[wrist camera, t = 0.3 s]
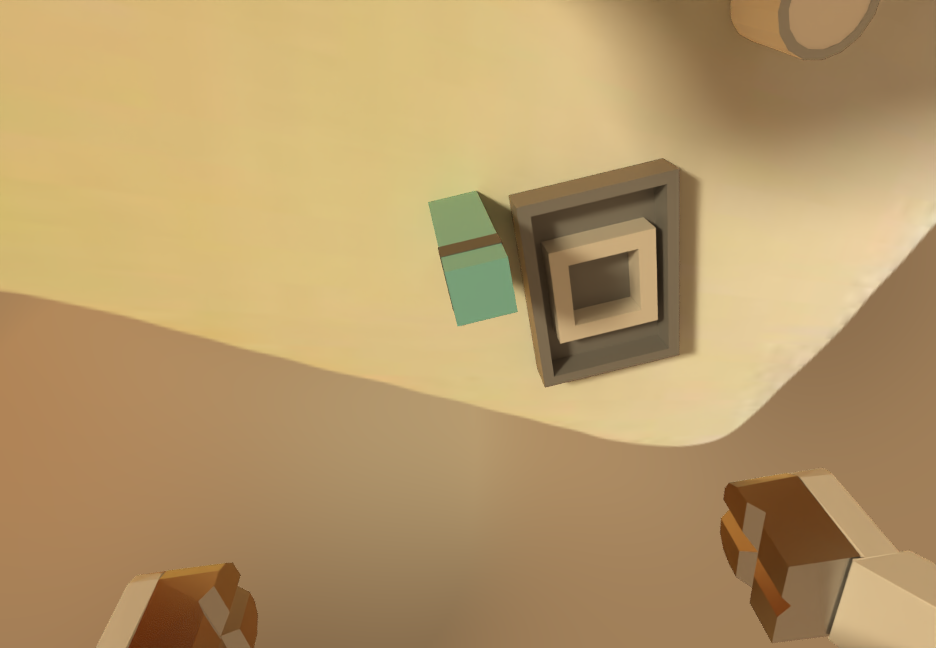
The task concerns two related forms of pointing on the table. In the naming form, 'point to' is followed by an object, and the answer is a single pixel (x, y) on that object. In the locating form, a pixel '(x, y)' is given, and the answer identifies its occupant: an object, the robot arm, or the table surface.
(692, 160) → the table surface
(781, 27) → the beige cylinder
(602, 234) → the grey tray
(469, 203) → the plug
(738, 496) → the robot arm
